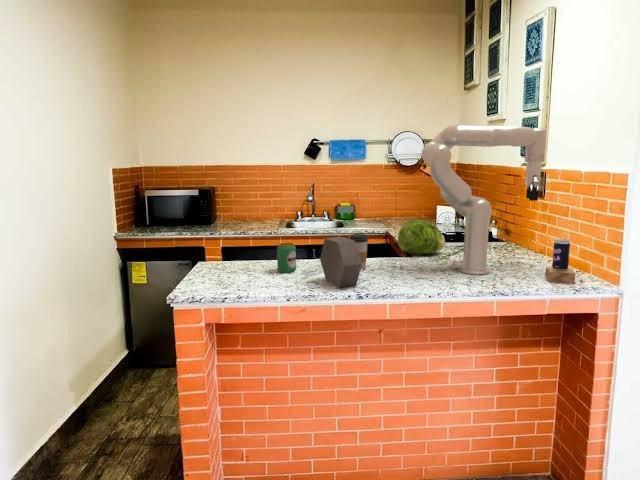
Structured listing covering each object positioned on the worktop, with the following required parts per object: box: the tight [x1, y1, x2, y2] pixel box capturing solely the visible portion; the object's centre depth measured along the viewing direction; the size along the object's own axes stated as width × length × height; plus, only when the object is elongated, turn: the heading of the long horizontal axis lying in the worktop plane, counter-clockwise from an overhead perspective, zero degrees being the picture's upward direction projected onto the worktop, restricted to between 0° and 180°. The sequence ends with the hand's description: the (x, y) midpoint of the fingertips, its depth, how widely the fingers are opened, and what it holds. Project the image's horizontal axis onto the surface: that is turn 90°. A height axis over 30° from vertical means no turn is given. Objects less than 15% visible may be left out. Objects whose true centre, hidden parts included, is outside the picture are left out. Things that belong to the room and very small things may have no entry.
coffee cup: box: [348, 233, 369, 270], centre depth 213 cm, size 8×8×15 cm
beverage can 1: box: [276, 242, 297, 274], centre depth 210 cm, size 8×8×12 cm
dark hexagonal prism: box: [319, 236, 362, 289], centre depth 190 cm, size 17×8×21 cm
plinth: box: [544, 266, 576, 285], centre depth 193 cm, size 9×9×4 cm
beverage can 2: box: [551, 238, 571, 271], centre depth 192 cm, size 6×6×12 cm
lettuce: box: [397, 219, 446, 256], centre depth 245 cm, size 18×23×19 cm
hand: (531, 199), depth 207 cm, fingers open, 9 cm apart
